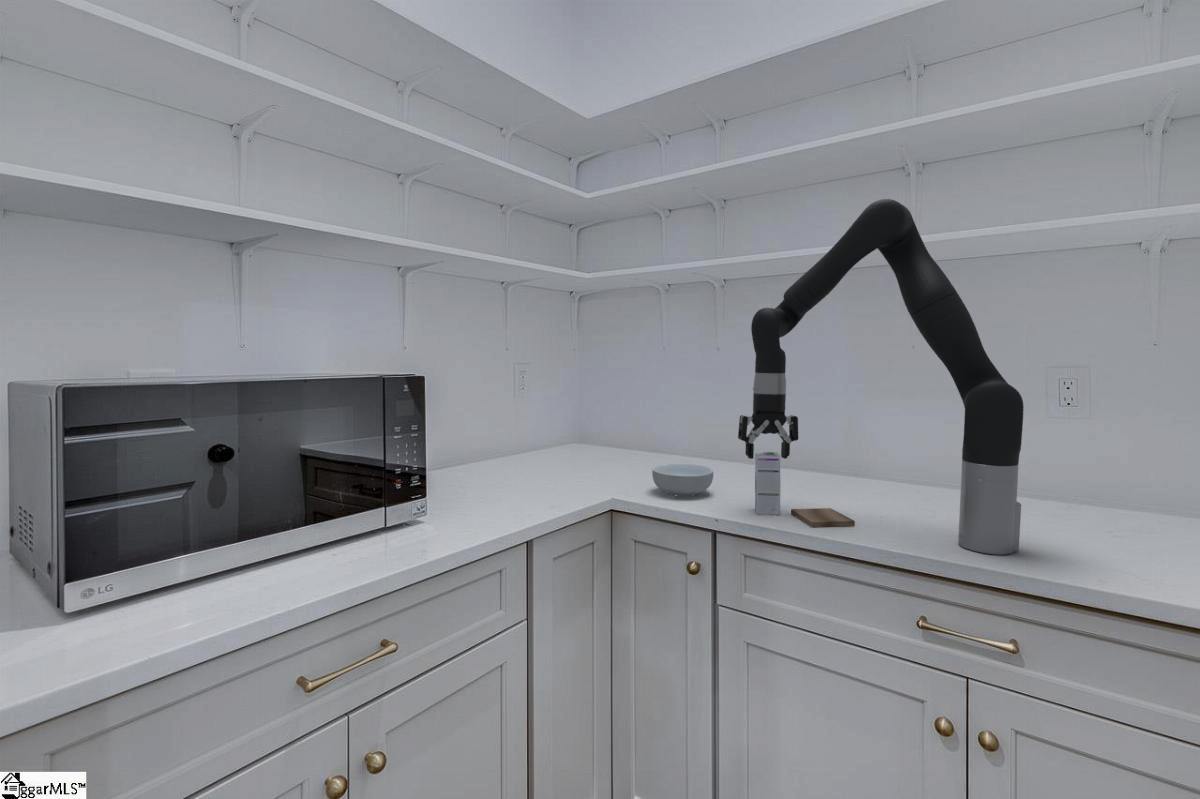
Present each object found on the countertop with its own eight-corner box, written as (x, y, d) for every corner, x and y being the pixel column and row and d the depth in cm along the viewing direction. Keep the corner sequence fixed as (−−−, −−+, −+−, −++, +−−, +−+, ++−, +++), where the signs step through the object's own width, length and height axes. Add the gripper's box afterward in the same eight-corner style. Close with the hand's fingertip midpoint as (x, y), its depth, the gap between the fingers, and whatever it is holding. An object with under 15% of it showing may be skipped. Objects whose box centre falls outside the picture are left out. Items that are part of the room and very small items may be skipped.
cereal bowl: (639, 493, 161) (639, 468, 160) (678, 484, 172) (678, 460, 171) (687, 504, 148) (687, 477, 147) (725, 494, 159) (725, 469, 159)
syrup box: (780, 515, 137) (782, 455, 136) (755, 514, 138) (756, 454, 137) (778, 509, 143) (779, 451, 142) (753, 508, 144) (754, 451, 143)
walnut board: (830, 512, 140) (830, 508, 139) (854, 526, 129) (854, 520, 129) (790, 514, 139) (790, 509, 138) (812, 527, 128) (812, 522, 128)
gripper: (746, 392, 134) (744, 461, 135) (804, 392, 135) (802, 460, 137) (735, 390, 141) (733, 455, 143) (791, 390, 143) (788, 455, 144)
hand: (767, 458), depth 140 cm, fingers open, 8 cm apart
